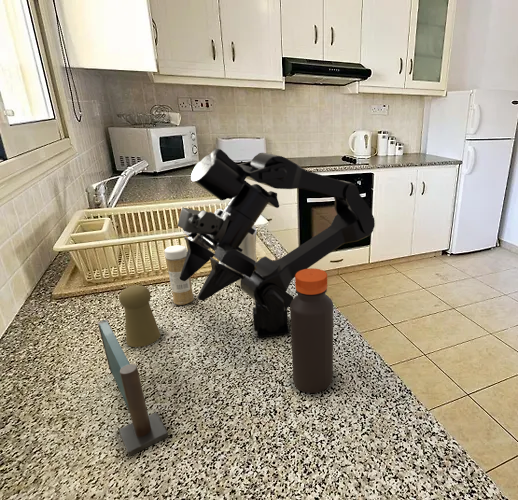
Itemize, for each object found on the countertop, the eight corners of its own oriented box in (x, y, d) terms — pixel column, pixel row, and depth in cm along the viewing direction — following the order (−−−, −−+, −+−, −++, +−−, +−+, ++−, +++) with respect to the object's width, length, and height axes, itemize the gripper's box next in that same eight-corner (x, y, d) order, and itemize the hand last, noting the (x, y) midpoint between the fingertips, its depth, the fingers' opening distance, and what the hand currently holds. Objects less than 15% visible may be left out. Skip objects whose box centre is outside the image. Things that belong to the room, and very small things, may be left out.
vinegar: (288, 372, 66) (283, 269, 58) (325, 363, 68) (324, 263, 61) (299, 399, 60) (295, 287, 53) (338, 387, 62) (340, 280, 55)
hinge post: (157, 415, 56) (143, 352, 52) (168, 436, 53) (154, 370, 48) (119, 433, 53) (102, 367, 49) (128, 457, 49) (110, 387, 45)
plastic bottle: (238, 292, 93) (230, 215, 86) (232, 281, 98) (225, 208, 91) (263, 287, 96) (258, 212, 88) (256, 277, 101) (251, 205, 94)
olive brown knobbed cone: (146, 349, 71) (135, 298, 67) (118, 344, 72) (106, 294, 68) (167, 331, 76) (158, 283, 72) (141, 327, 78) (131, 280, 74)
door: (118, 366, 65) (107, 319, 61) (145, 421, 54) (133, 367, 50) (109, 369, 64) (97, 322, 60) (134, 426, 53) (121, 372, 49)
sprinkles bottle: (195, 295, 91) (187, 244, 86) (192, 304, 87) (184, 251, 82) (175, 297, 90) (166, 245, 85) (171, 306, 86) (161, 252, 81)
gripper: (184, 179, 67) (133, 252, 65) (226, 200, 54) (163, 292, 52) (232, 212, 75) (187, 278, 73) (279, 236, 62) (226, 317, 60)
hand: (190, 289), depth 64 cm, fingers open, 9 cm apart
